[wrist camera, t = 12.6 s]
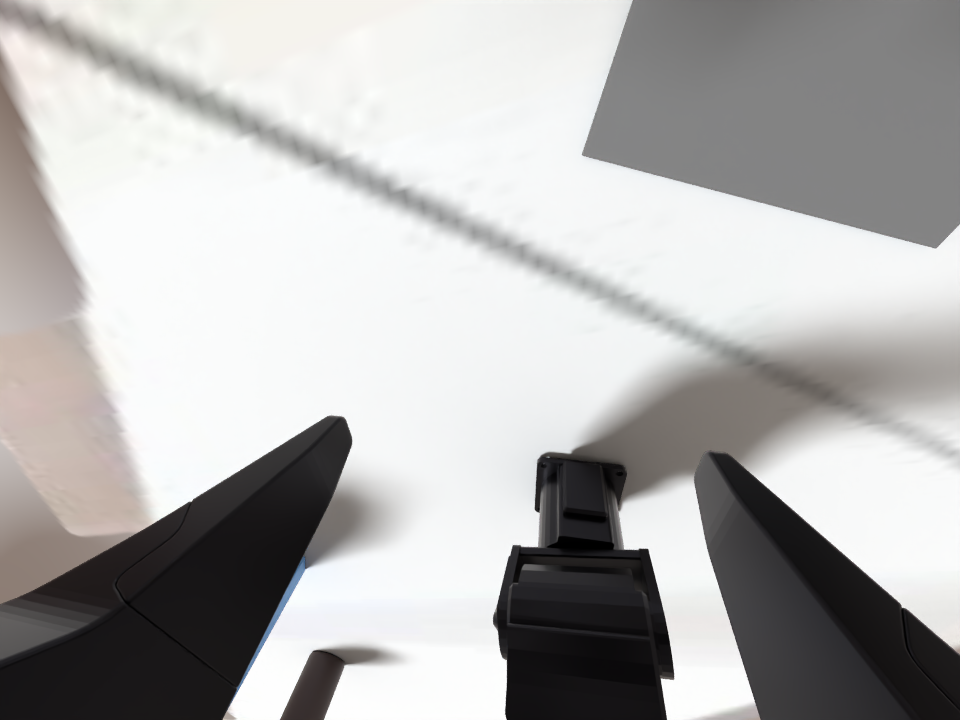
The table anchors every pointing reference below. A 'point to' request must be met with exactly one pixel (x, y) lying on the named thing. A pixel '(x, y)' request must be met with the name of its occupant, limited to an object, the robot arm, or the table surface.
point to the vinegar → (314, 688)
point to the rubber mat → (795, 106)
